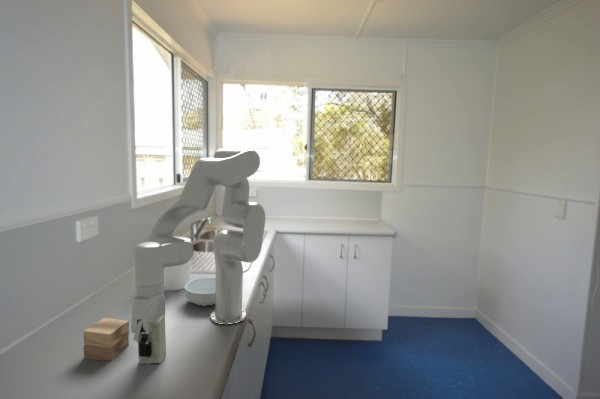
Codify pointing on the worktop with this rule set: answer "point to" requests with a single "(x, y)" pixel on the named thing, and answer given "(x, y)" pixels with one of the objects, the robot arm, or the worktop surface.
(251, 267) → the worktop surface
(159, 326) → the skincare box
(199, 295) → the cereal bowl
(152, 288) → the robot arm
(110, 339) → the oak top block
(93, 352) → the walnut base block
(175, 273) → the canister
